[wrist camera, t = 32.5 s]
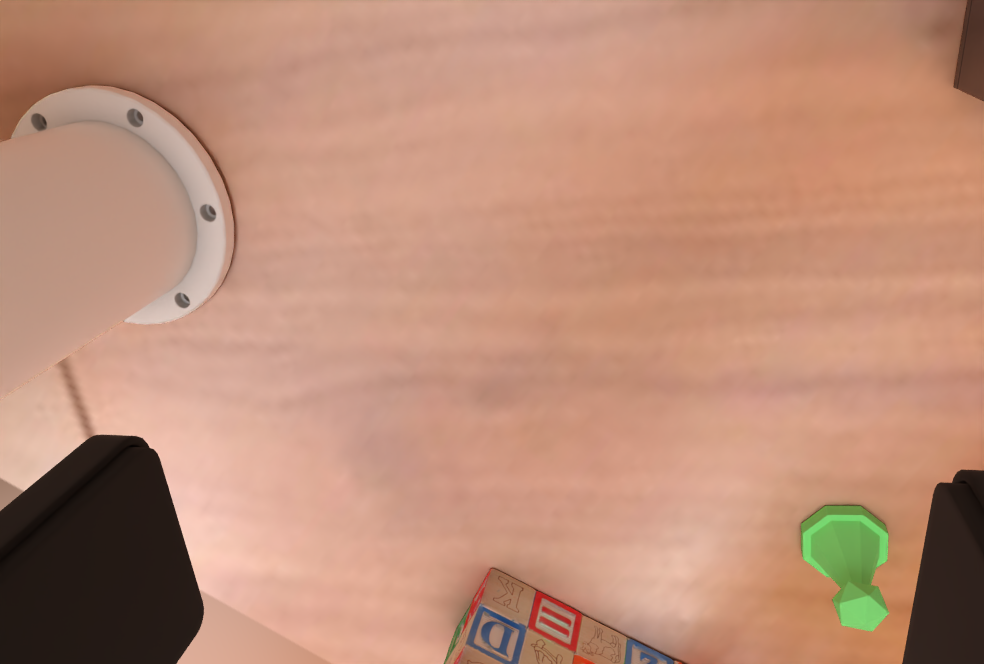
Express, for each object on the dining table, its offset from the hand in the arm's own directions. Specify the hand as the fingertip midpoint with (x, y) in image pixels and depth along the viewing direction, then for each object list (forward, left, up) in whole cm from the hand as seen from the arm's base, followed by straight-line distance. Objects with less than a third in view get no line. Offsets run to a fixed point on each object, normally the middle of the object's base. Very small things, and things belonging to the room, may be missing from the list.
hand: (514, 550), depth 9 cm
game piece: (+11, -21, -28) cm, 37 cm away
